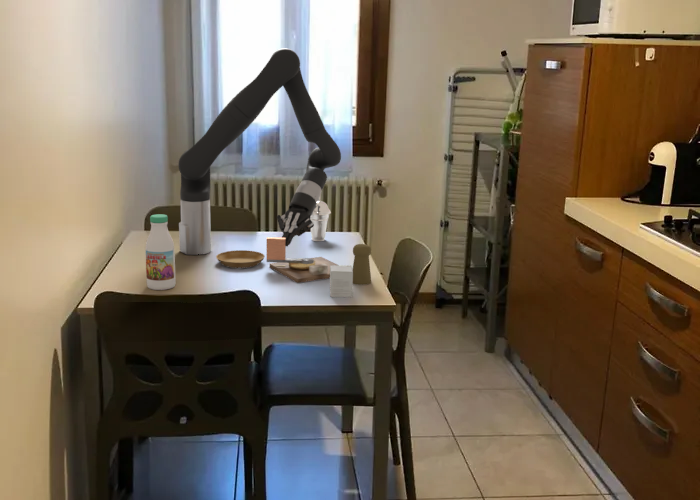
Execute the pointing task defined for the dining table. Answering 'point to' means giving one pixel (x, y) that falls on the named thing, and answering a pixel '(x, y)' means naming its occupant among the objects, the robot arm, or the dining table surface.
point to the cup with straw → (319, 221)
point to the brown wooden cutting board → (313, 273)
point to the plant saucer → (240, 258)
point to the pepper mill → (361, 264)
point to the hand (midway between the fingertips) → (284, 244)
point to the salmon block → (278, 254)
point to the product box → (341, 281)
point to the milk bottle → (160, 255)
